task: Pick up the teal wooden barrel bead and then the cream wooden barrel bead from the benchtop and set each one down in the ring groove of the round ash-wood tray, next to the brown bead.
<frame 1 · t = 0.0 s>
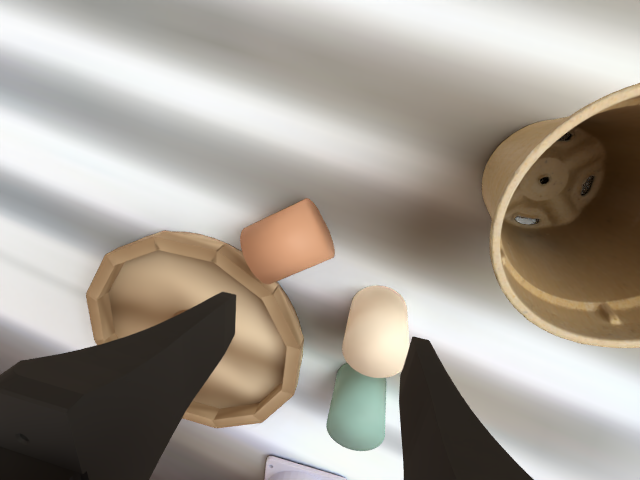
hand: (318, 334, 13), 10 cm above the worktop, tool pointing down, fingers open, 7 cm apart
ring tray: (200, 330, 28), on the worktop
bead cream: (378, 309, 24), on the worktop
bead brown: (258, 255, 22), point 2 cm above the worktop, tilted 96°
flower pot: (540, 176, 19), on the worktop
bead teal: (361, 380, 27), on the worktop
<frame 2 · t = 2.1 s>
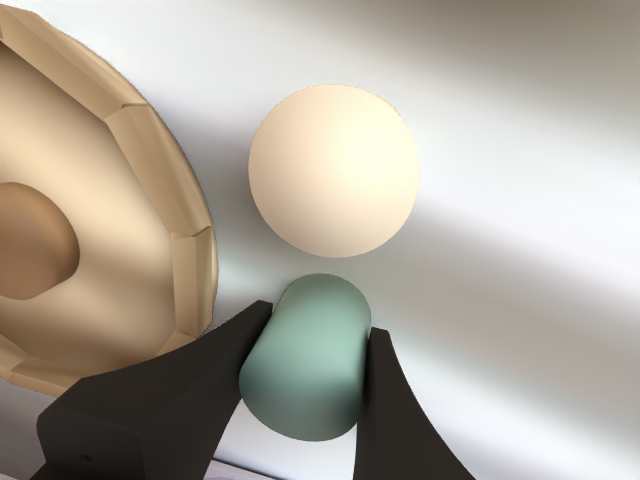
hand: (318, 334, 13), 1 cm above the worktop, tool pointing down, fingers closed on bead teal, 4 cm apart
ring tray: (44, 230, 16), on the worktop
bead cream: (351, 152, 12), on the worktop
bead teal: (324, 314, 15), on the worktop, touching gripper
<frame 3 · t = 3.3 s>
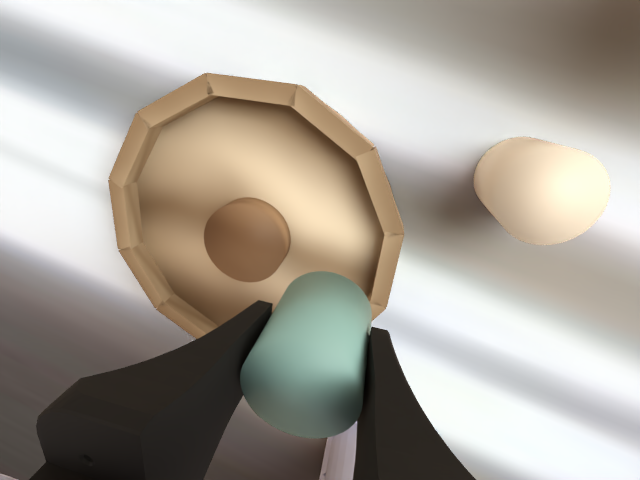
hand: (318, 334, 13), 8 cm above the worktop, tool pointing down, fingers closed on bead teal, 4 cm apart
ring tray: (256, 232, 22), on the worktop
bead cream: (514, 176, 17), on the worktop
bead teal: (325, 311, 15), point 7 cm above the worktop, touching gripper
when the fingers open (3 cm above the worktop, at t = 4.8 s): bead teal stays where it is, resting on ring tray.
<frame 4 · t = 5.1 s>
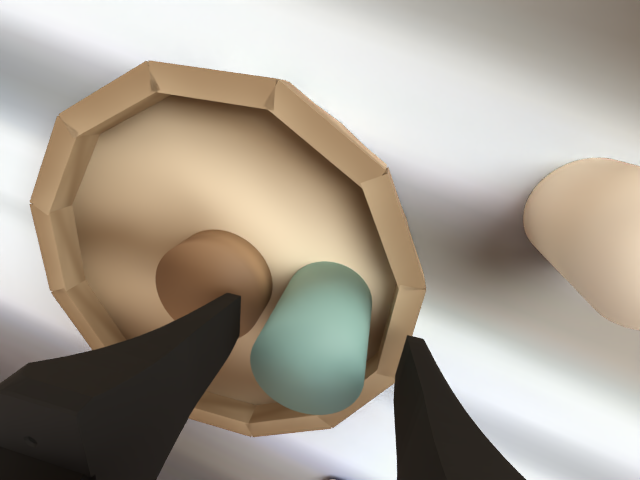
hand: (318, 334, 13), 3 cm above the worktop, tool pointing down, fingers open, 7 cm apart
ring tray: (229, 271, 17), on the worktop
bead cream: (582, 211, 12), on the worktop
bead teal: (328, 300, 15), point 1 cm above the worktop, touching ring tray
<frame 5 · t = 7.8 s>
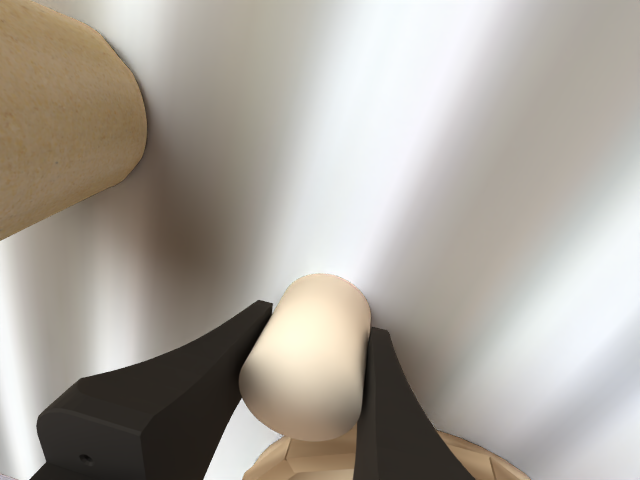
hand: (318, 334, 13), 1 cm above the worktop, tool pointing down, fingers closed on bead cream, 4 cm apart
bead cream: (324, 313, 15), on the worktop, touching gripper
flower pot: (83, 106, 13), on the worktop
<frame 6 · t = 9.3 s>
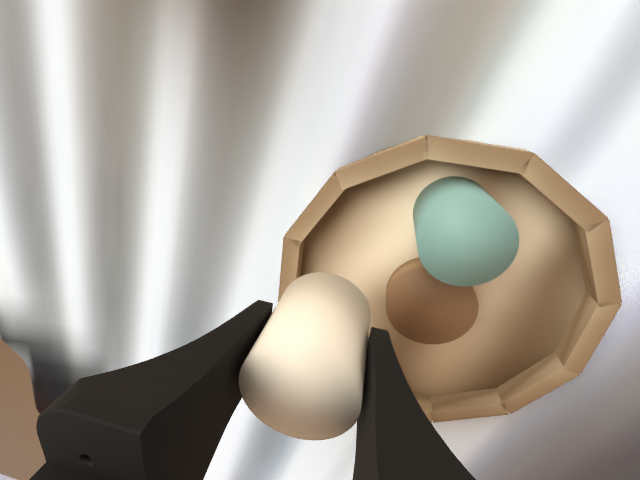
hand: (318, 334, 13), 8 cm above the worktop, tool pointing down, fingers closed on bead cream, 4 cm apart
ring tray: (427, 288, 21), on the worktop
bead cream: (324, 312, 15), point 7 cm above the worktop, touching gripper
bead teal: (450, 212, 18), point 1 cm above the worktop, touching ring tray
when the fingers open (3 cm above the worktop, at t = 10.9 s): bead cream stays where it is, resting on ring tray.
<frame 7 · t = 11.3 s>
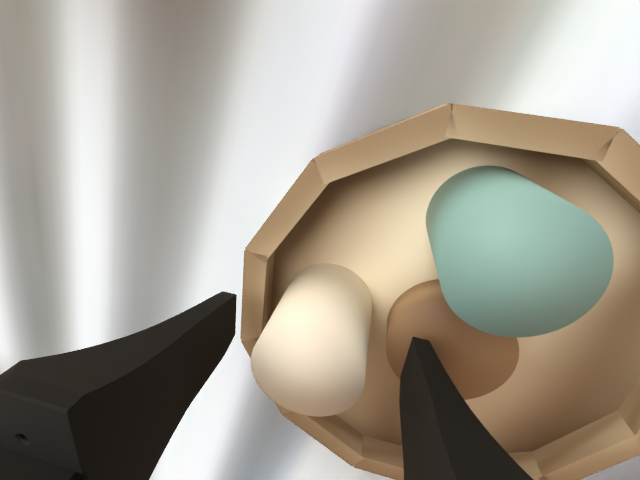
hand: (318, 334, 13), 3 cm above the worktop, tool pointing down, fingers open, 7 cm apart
ring tray: (442, 320, 15), on the worktop
bead cream: (328, 301, 15), point 1 cm above the worktop, touching ring tray
bead teal: (480, 218, 13), point 1 cm above the worktop, touching ring tray
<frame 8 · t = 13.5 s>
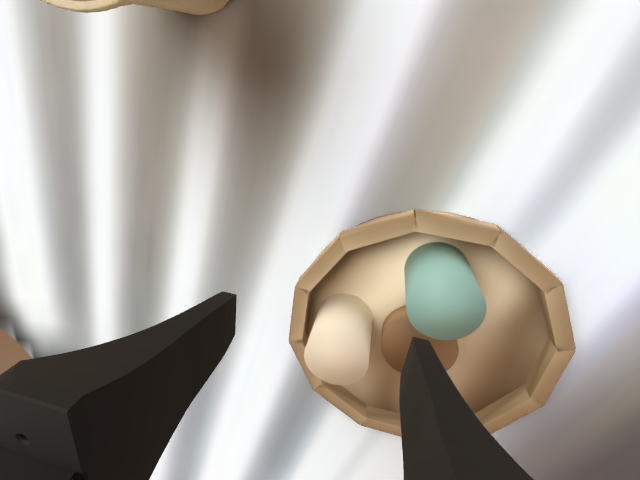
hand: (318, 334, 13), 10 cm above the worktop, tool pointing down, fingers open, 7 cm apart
ring tray: (416, 328, 24), on the worktop
bead cream: (345, 316, 24), point 1 cm above the worktop, touching ring tray
bead teal: (435, 270, 22), point 1 cm above the worktop, touching ring tray
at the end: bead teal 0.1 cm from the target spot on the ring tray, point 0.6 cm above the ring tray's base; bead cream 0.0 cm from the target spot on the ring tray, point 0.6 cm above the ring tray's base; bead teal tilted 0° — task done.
